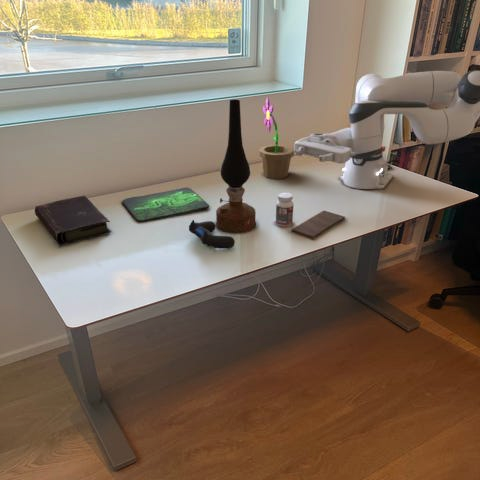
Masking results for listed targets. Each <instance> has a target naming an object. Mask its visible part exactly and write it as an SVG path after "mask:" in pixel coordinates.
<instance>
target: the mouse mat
mask: <svg viewBox="0 0 480 480" xmlns="http://www.w3.org/2000/svg"><path fill="white" fill-rule="evenodd" d="M121 202H122V204H123V205H124V206H125V208H126V209H127V210H128V212H129V213H130V215H131V216H132V217H133V218H134V220H135V221H136V222H140V223H141V222H142V223H143V222H147V221H150V220H158V219H162V218H167V217H172V216H178V215H181V214H187V213H191V212H194V211H195V212H196V211H198V210H199V211H200V210H204V209H208V208H209V207H210V205H209V203H207V202H206V201H205V200H204V199H203V198H202V197H201V196H200V195H198V194H197V193H196V191H194V190H193V189H192V188H190V187H181V188H177V189H172V190H168V191H162V192H161V191H160V192H156V193H150V194H146V195H139V196H132V197H127V198H124V199H123V200H122V201H121Z"/></svg>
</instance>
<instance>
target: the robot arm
mask: <svg viewBox="0 0 480 480" xmlns="http://www.w3.org/2000/svg"><path fill="white" fill-rule="evenodd" d="M354 99H355V100H354V104H353V105H352V106H351V108H350V109H349V111H348V119H349V123H350V127H344V128H342V129H339V130H337V131H334V132H328V133H311V134H310V135H309V136H306V137H302V138H300V139H298V140H296V141H295V142H294V146H293V149H294V154H295V156H297V157H302V156H307V157H312V158H316V159H318V161H319V162H320V163H321V162H322V163H324V162H332V163H336V164H345V165H344V167H343V168H342V170H341V171H342V172H343V174H342V175H340V180H341V181H342V182H343V185H346V186H347V187H349V188H353V189H359V190H375V189H379V190H383V189H384V188H385V187H386V186H387V185H388V183H389V182H390V181H391V180H392V179H393V175H392V174H391V173H388V171H389V170H391V169H392V168H393V167H392V165H390V163H393V162H396V163H397V164H399V163H400V161H399V160H398V159H390V160H388V161H386V160H385V158H383V153H384V152H386V149H387V147H386V146H385V145H383V139H384V132H385V115H403V116H405V118H406V119H407V121H408V123H409V124H410V127H411V129H412V131H413V134H414V135H415V137H416V138H417V139H418V140H419V141H420V142H421V143H423V144H425V145H437V144H438V145H439V144H442V143H443V144H444V143H447V142H452V141H454V140H455V141H456V140H458V139H461V138H464V137H466V136H467V135H468V136H469V134H470V133H472V132H473V130H474V128H475V126H476V124H477V123H478V122H479V119H480V69H472V70H469V71H467V72H466V73H465V74H463V76H462V77H461V76H460V74H459V73H458V72H456V71H450V70H428V71H418V72H408V73H405V74H402V75H397V76H394V77H387V78H386V77H383V76H381V75H380V74H378V73H367V74H364V75H363V76H361V78H360V79H359V80H358V81H357V83H356V87H355V98H354ZM429 105H444V106H445V108H440V109H433V108H430V107H429Z"/></svg>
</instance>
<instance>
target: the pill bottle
mask: <svg viewBox="0 0 480 480" xmlns="http://www.w3.org/2000/svg"><path fill="white" fill-rule="evenodd" d="M293 197H294V196H293V194H292V193H289V192H280V193H278V195H277V198H278V200H277V201H276V203H275V204H276V205H275V224H276V225H277V226H279V227H289V226H291V225H292V224H293V219H294V201H293Z"/></svg>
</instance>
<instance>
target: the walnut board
mask: <svg viewBox="0 0 480 480" xmlns="http://www.w3.org/2000/svg"><path fill="white" fill-rule="evenodd" d="M345 219H346V216H344V215H341V214H338V213H334V212H331V211H327V210H322V211H320V212H318V213H317V214H315V215H314V216H312V217H310V218H308V219H307V220H305V221H303V222H302V223H300V224H298V225H297V226H295V227H292V229H291V233H293V234H297V235H299V236H302V237H305V238H308V239H311V240H315V238H317V237H319V236H321V235H322V234H324V233H325V232H327V231H328V230H330V229H332V228H333V227H334V226H336V225H338V224H339V223H341V222H343V221H344V220H345Z"/></svg>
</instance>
